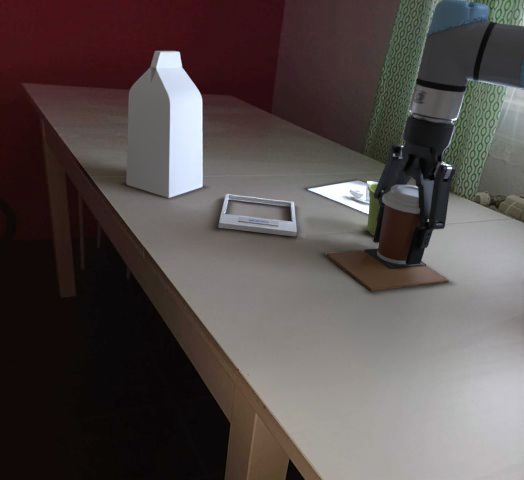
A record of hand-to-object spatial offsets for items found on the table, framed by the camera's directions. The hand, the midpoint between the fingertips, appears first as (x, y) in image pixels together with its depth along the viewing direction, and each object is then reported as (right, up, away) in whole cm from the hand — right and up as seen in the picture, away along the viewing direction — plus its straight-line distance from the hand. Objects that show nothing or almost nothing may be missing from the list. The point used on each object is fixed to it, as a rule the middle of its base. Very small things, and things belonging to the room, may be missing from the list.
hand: (395, 252), depth 96 cm
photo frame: (-25, +9, +12) cm, 29 cm away
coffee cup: (0, -1, +1) cm, 1 cm away
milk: (-45, +18, +22) cm, 54 cm away
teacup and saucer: (+1, +19, +33) cm, 38 cm away
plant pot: (0, +6, +12) cm, 14 cm away
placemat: (-2, -3, -3) cm, 5 cm away
